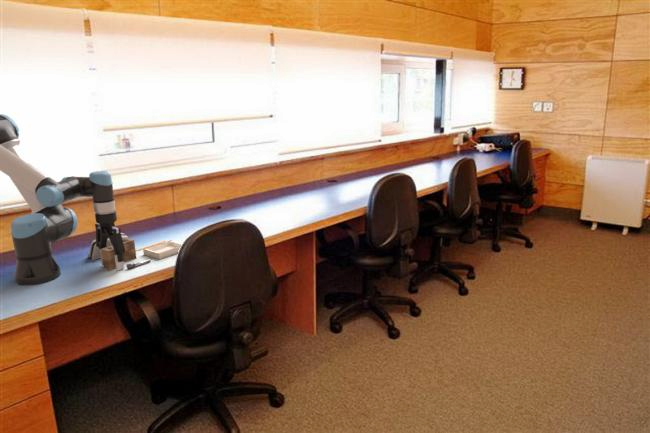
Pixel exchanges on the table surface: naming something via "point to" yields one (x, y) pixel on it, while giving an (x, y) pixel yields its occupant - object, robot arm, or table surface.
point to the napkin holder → (95, 250)
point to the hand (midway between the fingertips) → (113, 266)
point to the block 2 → (129, 250)
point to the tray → (162, 249)
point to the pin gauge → (137, 264)
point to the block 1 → (108, 258)
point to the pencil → (150, 246)
